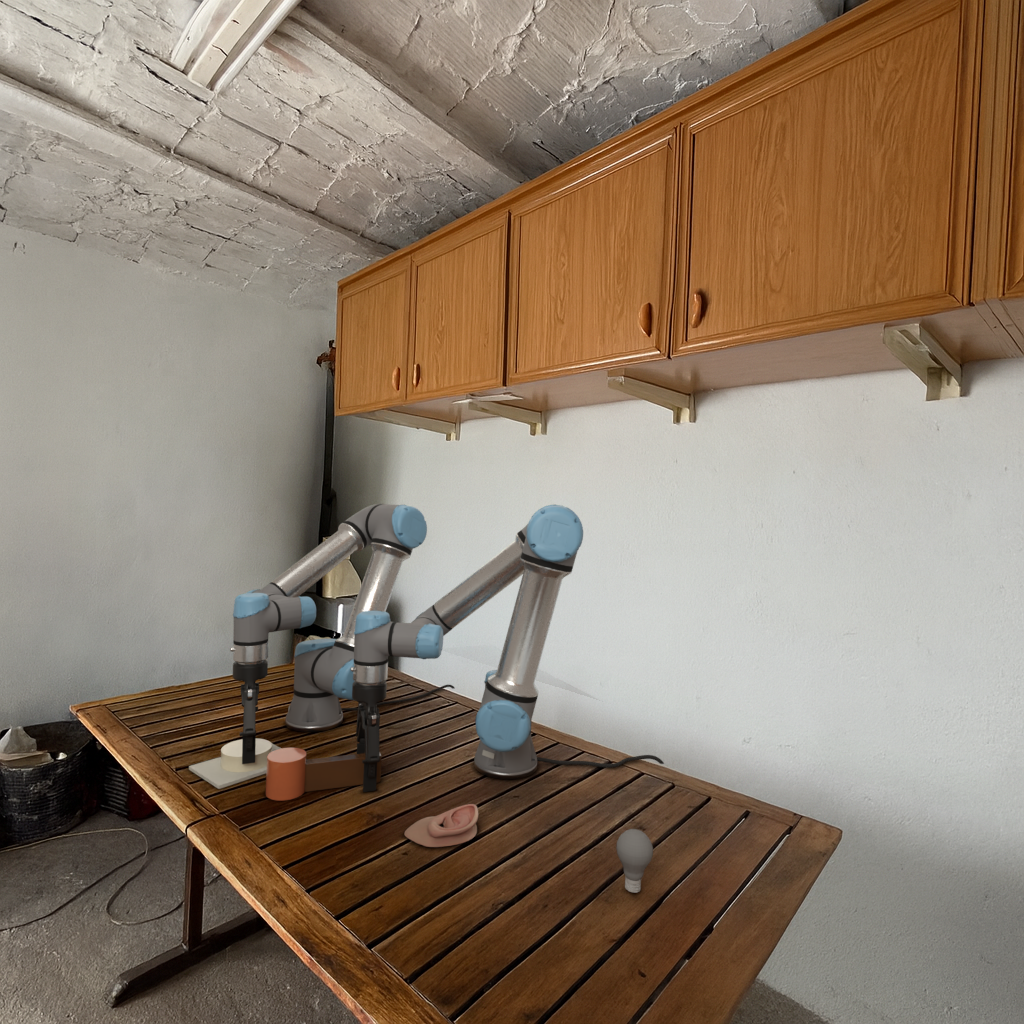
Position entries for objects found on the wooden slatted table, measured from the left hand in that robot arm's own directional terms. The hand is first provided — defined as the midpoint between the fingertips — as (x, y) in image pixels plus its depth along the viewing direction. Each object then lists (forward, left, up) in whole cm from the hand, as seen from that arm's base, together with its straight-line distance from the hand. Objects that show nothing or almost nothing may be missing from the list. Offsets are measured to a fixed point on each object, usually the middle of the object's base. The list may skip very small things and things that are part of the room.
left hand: (248, 751), depth 148 cm
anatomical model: (-10, +54, -3) cm, 55 cm away
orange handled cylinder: (-6, +22, -3) cm, 23 cm away
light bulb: (-18, +90, -3) cm, 92 cm away
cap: (0, 0, -2) cm, 3 cm away
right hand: (-13, +26, -3) cm, 30 cm away
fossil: (-53, -46, -3) cm, 70 cm away
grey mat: (0, 0, -3) cm, 3 cm away
